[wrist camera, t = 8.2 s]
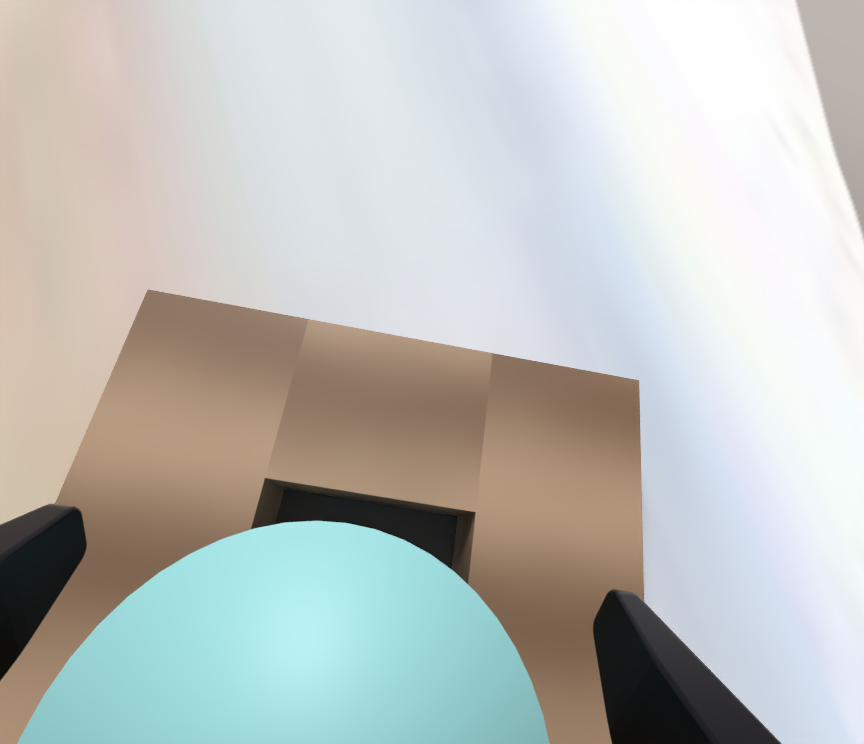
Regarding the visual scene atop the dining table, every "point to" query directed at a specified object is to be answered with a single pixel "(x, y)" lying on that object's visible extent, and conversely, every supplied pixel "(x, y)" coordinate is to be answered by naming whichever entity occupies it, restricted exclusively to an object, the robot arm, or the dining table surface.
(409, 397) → the socket
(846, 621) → the dining table surface
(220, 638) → the peg
